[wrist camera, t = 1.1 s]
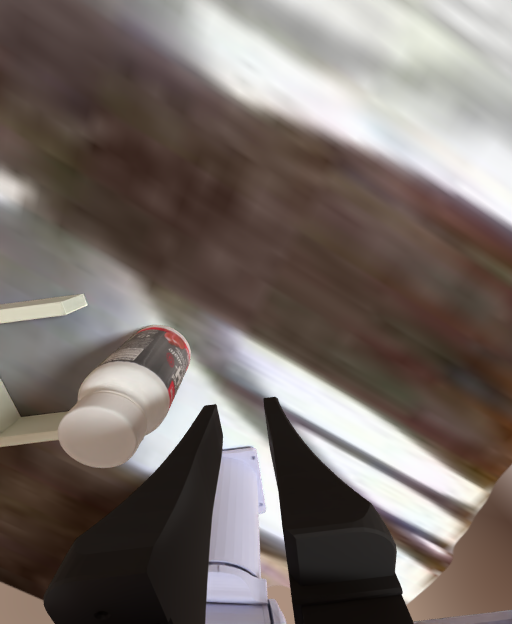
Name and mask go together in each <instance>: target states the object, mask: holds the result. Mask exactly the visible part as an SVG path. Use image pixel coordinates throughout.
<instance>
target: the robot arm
mask: <svg viewBox="0 0 512 624" xmlns="http://www.w3.org/2000/svg"><path fill="white" fill-rule="evenodd" d="M264 409H265V416H266V423H267V430H268V438H269V445H270V451H271V457H272V462H273V467H274V471H275V476H276V481H277V486H278V491H279V500H280V509H281V518H282V527H283V534H284V542H285V549H286V557H287V564H288V572H289V580H290V588H291V595H292V604H293V611H294V618H295V624H512V610H508V611H500V612H491V613H482V614H474V615H465V616H457V617H448V618H440V619H431V620H423V621H414V622H413V620H412V618H411V616H410V613H409V611H408V609H407V606H406V604H405V602H404V599H403V597H402V595H401V594H402V592H403V591H402V588H401V585H400V583H399V581H398V578H397V576H396V574H395V564H396V553H397V551H396V544H395V542H394V540H393V538H392V536H391V534H390V532H389V530H388V529H387V527H386V525H385V523H384V522H383V520H382V519H381V517H380V515H379V514H378V512H377V511H376V510H375V508H374V507H373V505H372V504H371V503H370V502H369V501H367V500H366V499H365V498H363V497H362V496H361V495H359V494H358V493H357V492H355V491H354V490H353V489H352V488H350V487H349V486H348V485H347V484H345V483H344V482H343V481H342V480H341V479H340V478H338V477H337V476H336V475H335V474H334V473H333V472H332V471H331V470H330V469H329V468H328V467H327V466H326V465H325V464H323V463H322V462H321V460H320V459H319V458H318V457H317V456H316V455H315V454H314V453H313V452H312V451H311V450H310V448H309V447H308V446H307V445H306V444H305V443H304V441H303V440H302V439H301V437H300V436H299V435H298V433H297V432H296V431H295V429H294V428H293V426H292V425H291V423H290V422H289V420H288V419H287V417H286V415H285V414H284V412H283V410H282V408H281V406H280V404H279V401H278V398H276V397H270V398H264ZM222 445H223V433H222V428H221V424H220V419H219V414H218V410H217V405H216V404H214V405H206V406H204V407H203V409H202V410H201V412H200V413H199V415H198V416H197V418H196V419H195V421H194V422H193V424H192V425H191V427H190V428H189V430H188V431H187V433H186V434H185V435H184V437H183V438H182V440H181V441H180V442H179V444H178V445H177V446H176V447H175V449H174V450H173V451H172V452H171V454H170V455H169V456H168V457H167V459H166V460H165V461H164V462H163V463H162V464H161V465H160V467H159V468H158V469H157V470H156V471H155V472H154V473H153V474H152V475H151V476H150V477H149V478H148V479H147V480H146V481H145V482H144V483H143V484H142V485H141V486H140V487H139V488H138V489H137V490H136V491H135V492H134V493H133V494H131V495H130V496H129V497H128V498H127V499H126V500H125V501H124V502H122V503H121V504H120V505H119V506H118V507H117V508H115V509H114V510H113V511H112V512H111V513H109V514H108V515H107V516H106V517H104V518H103V519H102V520H100V521H99V522H98V523H96V524H95V525H94V526H93V527H91V528H90V529H89V530H87V531H86V532H85V533H83V534H82V535H81V536H79V537H78V538H76V540H75V542H74V543H73V545H72V546H71V548H70V550H69V551H68V553H67V555H66V556H65V558H64V560H63V562H62V564H61V565H60V567H59V569H58V571H57V573H56V574H55V576H54V578H53V580H52V582H51V583H50V585H49V587H48V589H47V591H46V592H45V594H44V607H45V609H46V611H47V613H48V614H49V616H50V617H51V619H52V620H53V622H54V623H55V624H286V620H285V617H284V615H283V613H282V611H281V610H280V608H279V606H278V603H277V602H276V600H274V599H267V581H266V579H261V567H260V540H259V514H262V513H264V512H265V511H266V505H265V499H264V493H263V487H262V481H261V474H260V468H259V462H258V456H257V450H256V449H255V448H244V449H236V450H228V451H222Z"/></svg>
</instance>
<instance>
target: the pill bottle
mask: <svg viewBox="0 0 512 624" xmlns="http://www.w3.org/2000/svg"><path fill="white" fill-rule="evenodd" d="M190 360H191V350H190V347H189V344H188V342H187V340H186V339H185V338H184V336H183V335H182V334H180V333H179V332H178V331H176V330H175V329H173V328H171V327H168V326H162V325H152V326H148V327H145V328H143V329H141V330H140V331H138V332H137V333H136V334H135V335H133V336H132V337H131V338H130V339H129V340H128V341H126V342H125V343H124V344H123V345H122V346H121V347H120V348H118V349H117V350H116V351H115V352H114V353H113V354H112V355H110V356H109V357H108V358H107V359H106V360H105V361H104V362H102V363H101V364H100V365H99V366H98V367H97V368H95V369H94V370H93V371H92V372H91V373H90V374H89V375H88V376H87V377H86V378H85V380H84V381H83V383H82V384H81V386H80V389H79V392H78V402H77V403H76V405H75V406H74V407H73V408H71V410H70V411H69V412H68V413H67V414H66V415H65V416H64V417H63V419H62V420H61V422H60V424H59V426H58V439H59V442H60V444H61V446H62V448H63V449H64V450H65V452H66V453H67V454H68V455H70V456H71V457H72V458H73V459H75V460H76V461H78V462H80V463H82V464H84V465H88V466H91V467H97V468H109V467H115V466H118V465H121V464H123V463H125V462H126V461H128V460H129V459H130V458H131V457H132V456H133V454H134V453H135V452H136V450H137V448H138V446H139V445H140V443H141V441H142V440H143V438H144V436H145V435H147V434H149V433H151V432H152V431H154V430H155V429H156V428H157V427H158V426H159V425H160V424H161V423H162V421H163V420H164V418H165V417H166V415H167V413H168V411H169V408H170V406H171V404H172V401H173V399H174V397H175V395H176V393H177V390H178V388H179V386H180V384H181V382H182V379H183V377H184V375H185V373H186V371H187V368H188V366H189V363H190Z"/></svg>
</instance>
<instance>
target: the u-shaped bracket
mask: <svg viewBox="0 0 512 624" xmlns="http://www.w3.org/2000/svg"><path fill="white" fill-rule="evenodd" d="M87 305H88V304H87V302H86V299H85V296H84V294H77V295H69V296H62V297H54V298H46V299H39V300H31V301H23V302H16V303H8V304H0V323H7V322H15V321H22V320H30V319H38V318H45V317H53V316H61V315H67V314H69V313H71V312H74V311H76V310H78V309H80V308H83V307H85V306H87ZM68 412H69V411H66V412H58V413H50V414H42V415H34V416H26V417H21V416H20V414H19V413H18V411H17V409H16V407H15V405H14V403H13V401H12V399H11V397H10V396H9V394H8V392H7V390H6V388H5V386H4V384H3V382H2V380H1V379H0V447H4V446H12V445H20V444H28V443H36V442H44V441H52V440H59V439H58V426H59V424H60V422H61V420H62V419H63V417H64V416H65V415H66V414H67V413H68Z"/></svg>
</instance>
